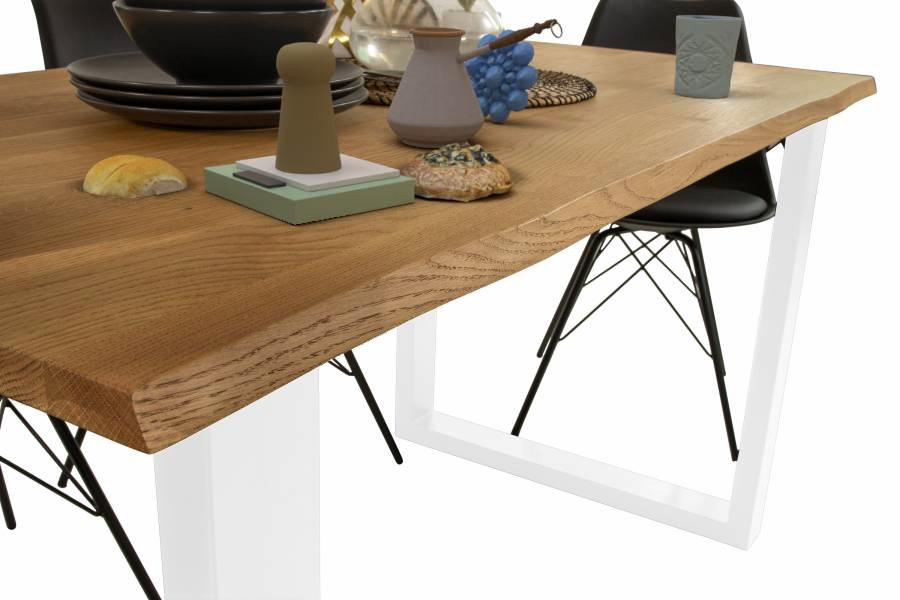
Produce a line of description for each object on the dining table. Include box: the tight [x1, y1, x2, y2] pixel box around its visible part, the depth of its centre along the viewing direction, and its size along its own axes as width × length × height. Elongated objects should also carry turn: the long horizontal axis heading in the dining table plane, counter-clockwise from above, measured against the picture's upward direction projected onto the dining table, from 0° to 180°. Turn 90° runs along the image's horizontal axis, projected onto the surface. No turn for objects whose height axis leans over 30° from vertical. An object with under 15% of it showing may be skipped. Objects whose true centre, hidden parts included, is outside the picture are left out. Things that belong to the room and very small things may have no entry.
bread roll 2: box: [400, 143, 515, 203], centre depth 96 cm, size 11×11×5 cm
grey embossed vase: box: [673, 14, 743, 99], centre depth 159 cm, size 10×10×12 cm
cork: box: [275, 41, 341, 174], centre depth 90 cm, size 6×6×11 cm
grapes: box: [464, 29, 539, 124], centre depth 131 cm, size 12×7×12 cm, turn 52°
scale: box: [203, 153, 415, 226], centre depth 92 cm, size 13×15×3 cm
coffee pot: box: [386, 18, 564, 149], centre depth 114 cm, size 21×12×15 cm, turn 57°
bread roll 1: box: [82, 154, 188, 199], centre depth 90 cm, size 8×9×4 cm
